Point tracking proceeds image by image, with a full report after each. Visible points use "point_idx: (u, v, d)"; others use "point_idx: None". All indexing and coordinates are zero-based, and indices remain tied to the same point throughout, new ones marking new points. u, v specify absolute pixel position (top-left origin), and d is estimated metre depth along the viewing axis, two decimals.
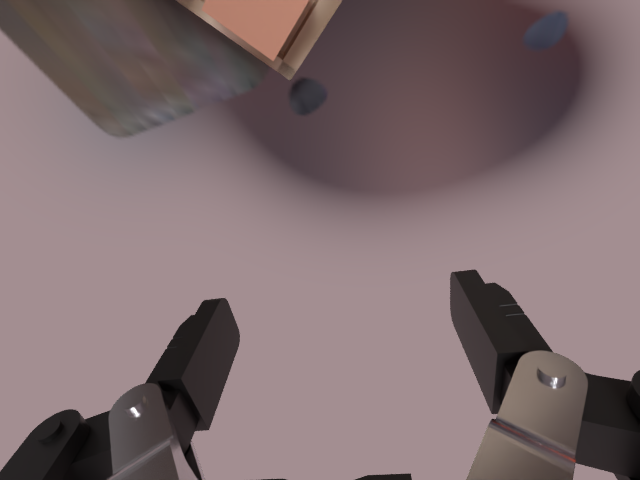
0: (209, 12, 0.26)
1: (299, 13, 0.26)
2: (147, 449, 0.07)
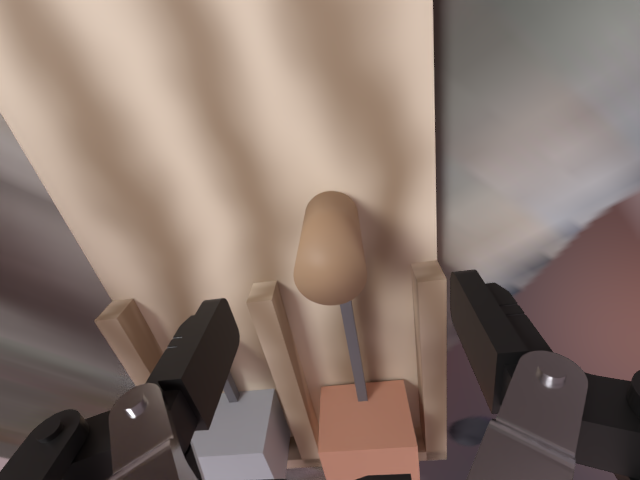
0: None
1: (416, 462, 0.22)
2: (147, 449, 0.07)
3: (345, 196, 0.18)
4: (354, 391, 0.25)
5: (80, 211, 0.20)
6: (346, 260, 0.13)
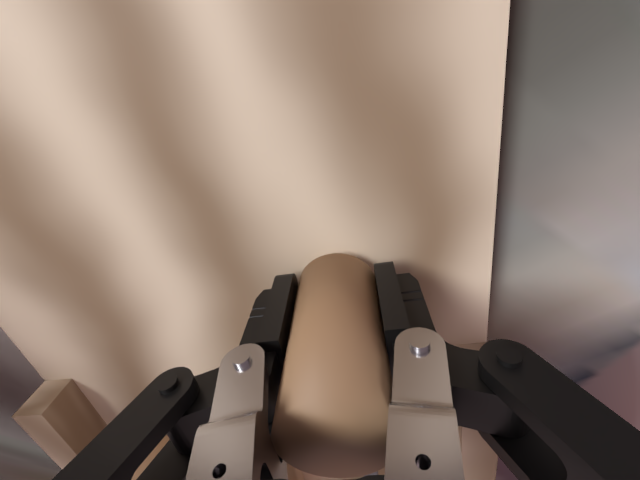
0: None
1: None
2: (239, 410, 0.07)
3: (358, 263, 0.12)
4: None
5: None
6: (365, 422, 0.07)
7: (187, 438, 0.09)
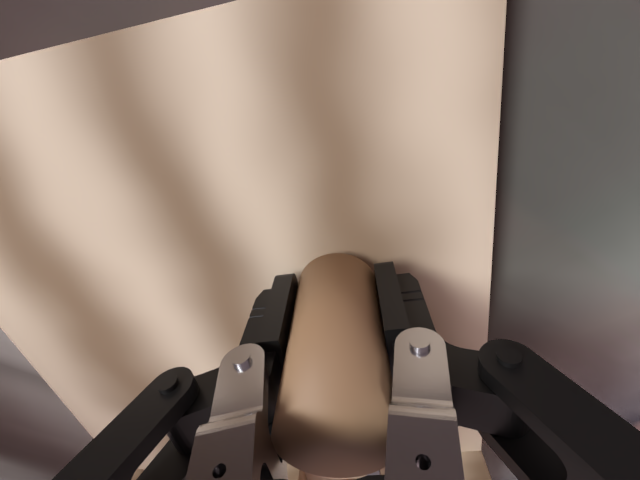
0: None
1: None
2: (239, 410, 0.07)
3: (358, 262, 0.12)
4: None
5: (84, 401, 0.18)
6: (365, 422, 0.07)
7: (187, 438, 0.09)
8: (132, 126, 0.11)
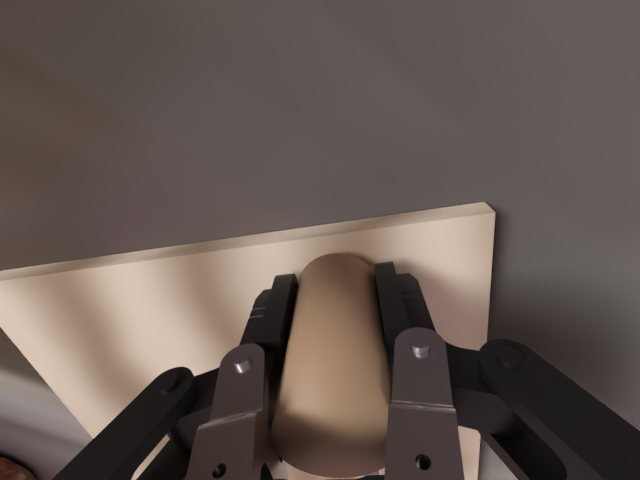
0: None
1: None
2: (239, 410, 0.07)
3: (358, 262, 0.12)
4: None
5: None
6: (365, 422, 0.07)
7: (187, 438, 0.09)
8: (210, 305, 0.14)
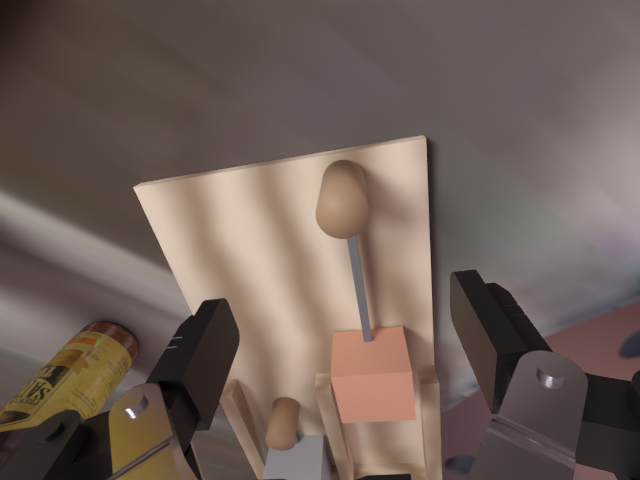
0: (348, 421, 0.29)
1: (411, 386, 0.27)
2: (147, 449, 0.07)
3: (354, 163, 0.23)
4: (361, 335, 0.30)
5: None
6: (354, 202, 0.18)
7: None
8: (271, 198, 0.25)
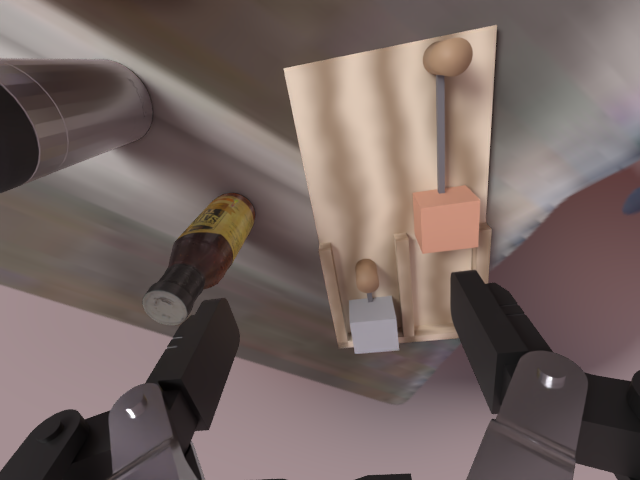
0: (427, 251, 0.40)
1: (478, 214, 0.37)
2: (147, 449, 0.07)
3: None
4: (435, 191, 0.41)
5: (320, 198, 0.43)
6: (464, 47, 0.29)
7: None
8: (382, 75, 0.36)
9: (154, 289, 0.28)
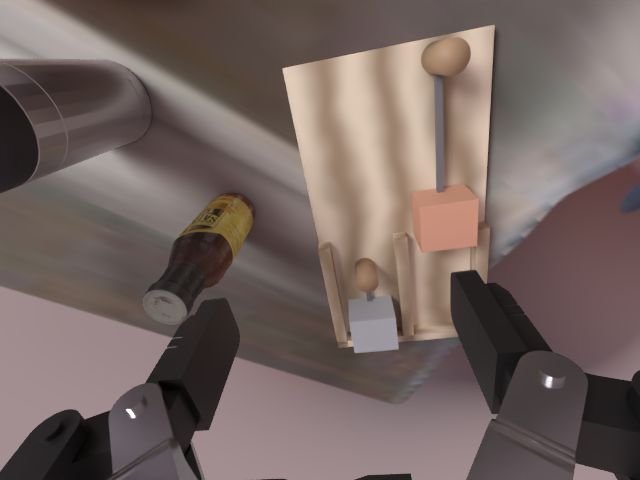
0: (426, 250, 0.40)
1: (477, 213, 0.38)
2: (147, 449, 0.07)
3: None
4: (433, 190, 0.41)
5: (319, 197, 0.43)
6: (462, 46, 0.29)
7: None
8: (381, 75, 0.36)
9: (154, 288, 0.28)
